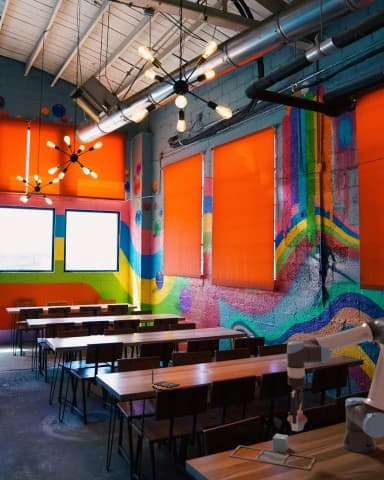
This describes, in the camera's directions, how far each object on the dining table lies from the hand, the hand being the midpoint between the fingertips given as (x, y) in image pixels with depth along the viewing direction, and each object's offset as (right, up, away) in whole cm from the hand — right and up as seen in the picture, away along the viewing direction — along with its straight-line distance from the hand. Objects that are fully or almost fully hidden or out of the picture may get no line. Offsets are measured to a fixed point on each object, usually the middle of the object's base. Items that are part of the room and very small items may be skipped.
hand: (297, 427), depth 210 cm
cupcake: (0, -1, 0) cm, 1 cm away
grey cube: (-5, -16, +14) cm, 22 cm away
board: (-11, -15, +4) cm, 19 cm away
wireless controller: (-68, -25, +131) cm, 149 cm away
